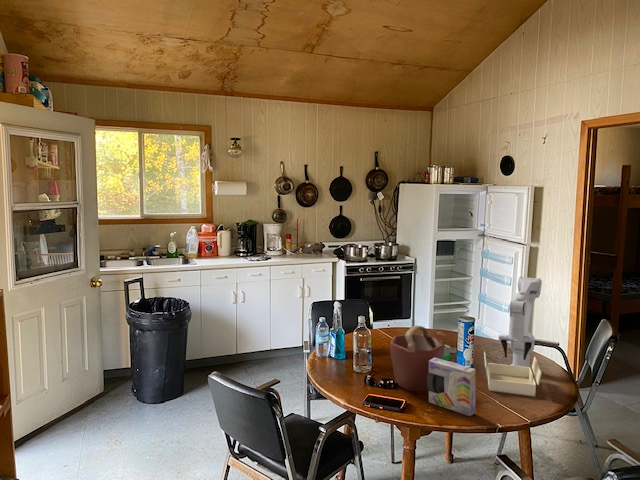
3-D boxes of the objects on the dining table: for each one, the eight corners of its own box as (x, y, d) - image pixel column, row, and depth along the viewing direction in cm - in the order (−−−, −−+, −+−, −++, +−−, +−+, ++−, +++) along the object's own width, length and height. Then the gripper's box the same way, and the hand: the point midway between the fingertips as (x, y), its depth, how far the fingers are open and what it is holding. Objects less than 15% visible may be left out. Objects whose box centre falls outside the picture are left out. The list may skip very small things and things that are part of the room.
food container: (430, 361, 241) (430, 341, 239) (440, 360, 243) (441, 340, 242) (445, 370, 229) (445, 349, 228) (456, 369, 231) (457, 348, 230)
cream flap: (537, 384, 201) (538, 384, 201) (540, 373, 201) (541, 373, 201) (531, 367, 220) (532, 367, 220) (534, 356, 220) (535, 357, 220)
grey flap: (486, 362, 226) (485, 362, 226) (485, 351, 226) (483, 351, 226) (488, 378, 207) (486, 378, 207) (486, 367, 207) (485, 367, 207)
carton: (487, 373, 226) (487, 362, 226) (529, 378, 221) (530, 367, 221) (488, 390, 207) (489, 379, 207) (535, 396, 202) (535, 384, 202)
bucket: (419, 400, 198) (422, 339, 195) (375, 383, 213) (377, 327, 210) (450, 382, 216) (453, 326, 213) (408, 368, 231) (409, 316, 228)
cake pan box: (425, 401, 197) (426, 358, 195) (432, 397, 200) (433, 355, 198) (469, 418, 183) (471, 372, 181) (475, 413, 187) (478, 368, 185)
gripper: (499, 328, 214) (498, 359, 215) (536, 332, 210) (533, 363, 211) (498, 324, 221) (497, 353, 222) (534, 327, 216) (532, 357, 218)
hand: (515, 358), depth 217 cm, fingers open, 7 cm apart
